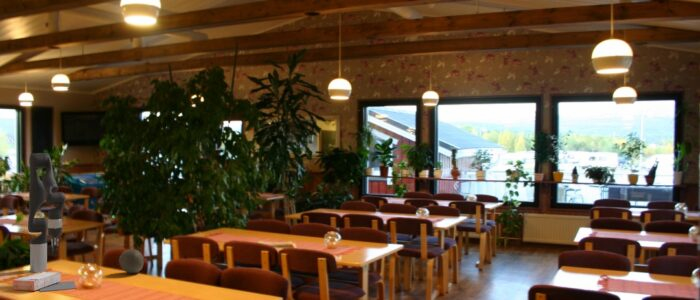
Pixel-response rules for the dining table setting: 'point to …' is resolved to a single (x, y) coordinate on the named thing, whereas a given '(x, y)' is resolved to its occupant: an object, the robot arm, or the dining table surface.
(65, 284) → the mat
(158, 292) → the dining table surface
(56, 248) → the robot arm
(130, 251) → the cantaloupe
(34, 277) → the cracker box
